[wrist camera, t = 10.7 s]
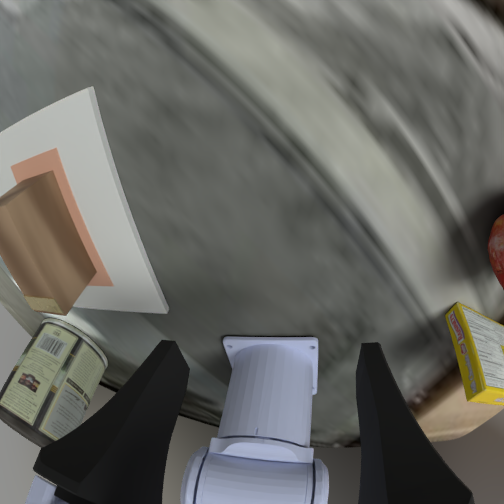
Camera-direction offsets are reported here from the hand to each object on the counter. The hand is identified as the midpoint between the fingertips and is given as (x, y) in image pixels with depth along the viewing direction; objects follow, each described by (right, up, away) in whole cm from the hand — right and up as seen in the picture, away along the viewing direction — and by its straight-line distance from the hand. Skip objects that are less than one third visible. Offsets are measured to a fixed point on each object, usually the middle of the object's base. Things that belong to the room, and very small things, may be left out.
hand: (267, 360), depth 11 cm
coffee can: (-23, -8, +22) cm, 32 cm away
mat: (-16, +6, +10) cm, 20 cm away
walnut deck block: (-16, +6, +9) cm, 19 cm away
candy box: (+23, -3, +11) cm, 25 cm away
